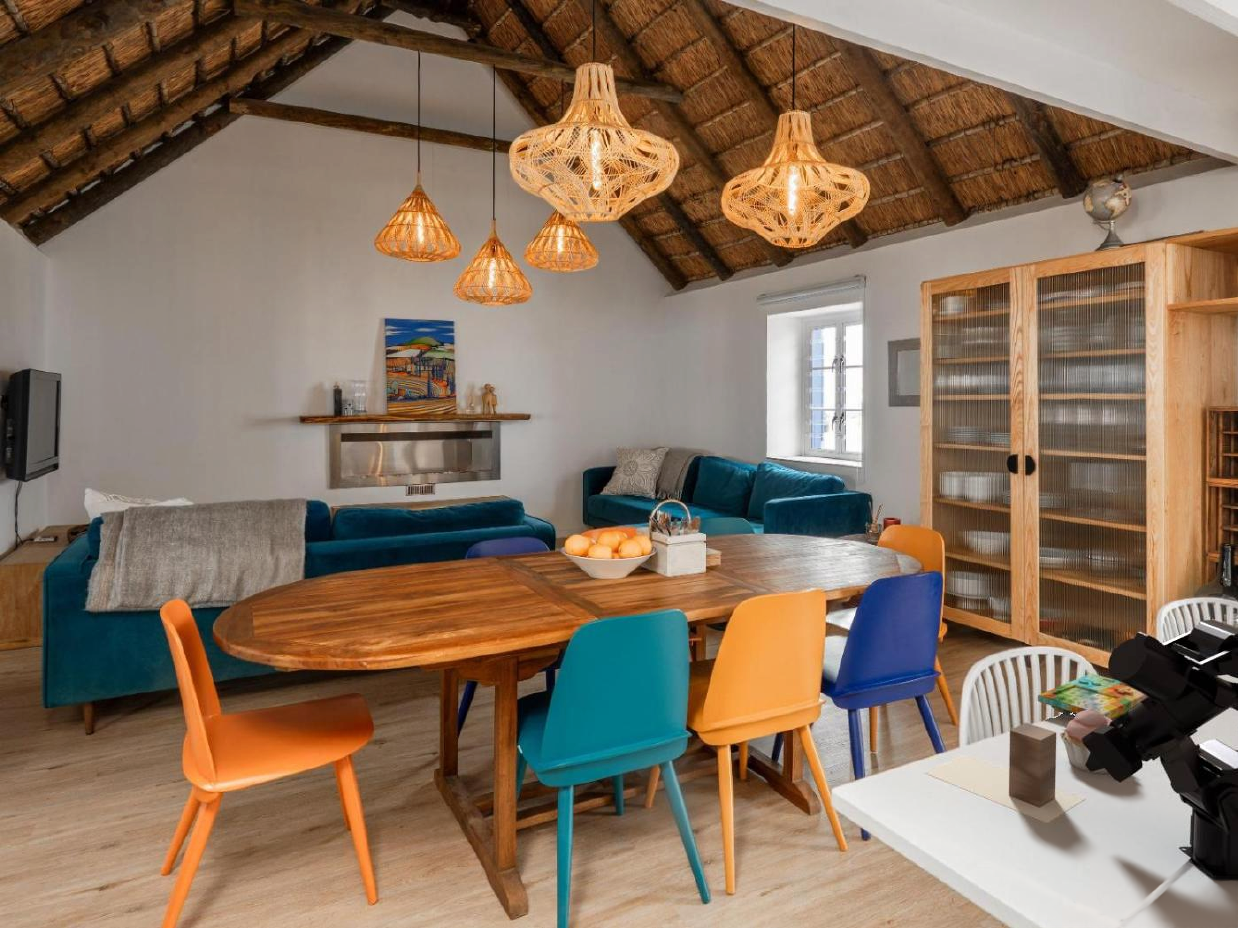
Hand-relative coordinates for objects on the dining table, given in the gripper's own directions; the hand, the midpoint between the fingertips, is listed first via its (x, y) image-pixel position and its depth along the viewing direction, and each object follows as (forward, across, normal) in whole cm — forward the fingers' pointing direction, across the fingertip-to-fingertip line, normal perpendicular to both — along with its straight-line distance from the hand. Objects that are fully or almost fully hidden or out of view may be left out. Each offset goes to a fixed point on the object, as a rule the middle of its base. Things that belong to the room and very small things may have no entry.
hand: (1088, 767), depth 109 cm
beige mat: (+14, +1, +4) cm, 15 cm away
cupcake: (+11, +19, 0) cm, 22 cm away
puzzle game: (+18, +44, +6) cm, 48 cm away
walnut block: (+11, +1, +1) cm, 11 cm away
